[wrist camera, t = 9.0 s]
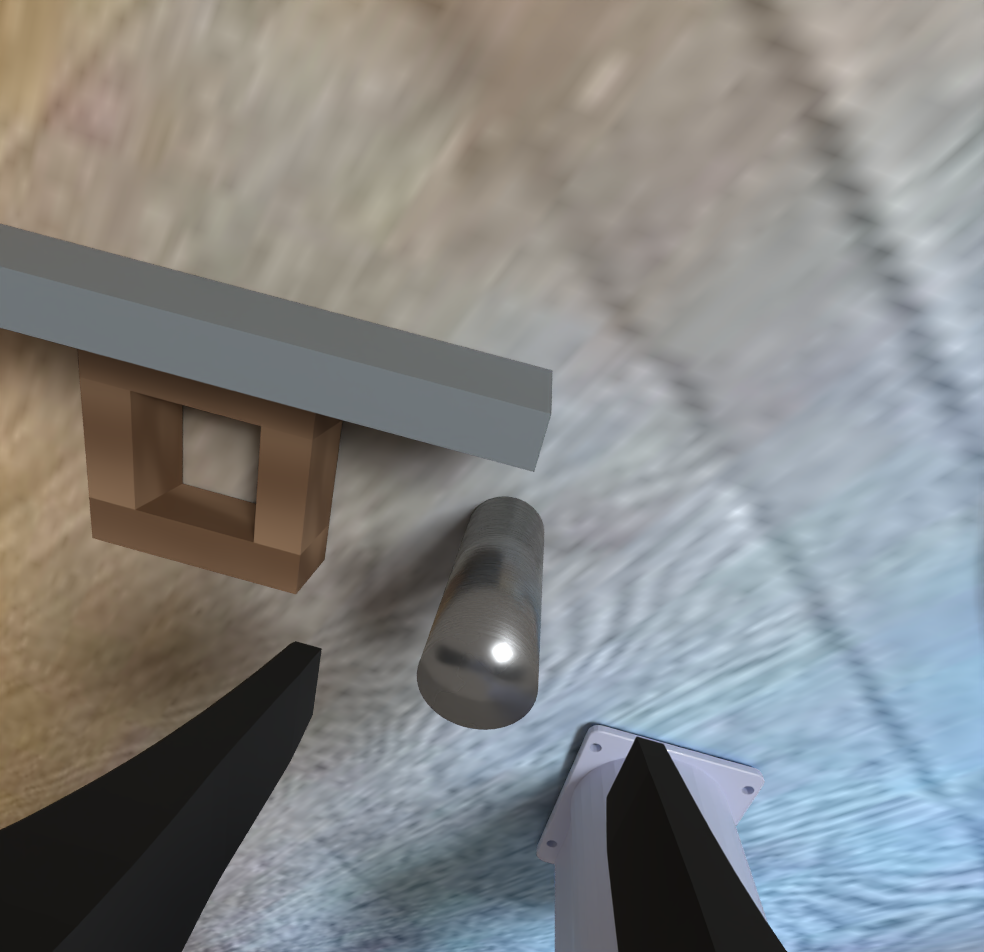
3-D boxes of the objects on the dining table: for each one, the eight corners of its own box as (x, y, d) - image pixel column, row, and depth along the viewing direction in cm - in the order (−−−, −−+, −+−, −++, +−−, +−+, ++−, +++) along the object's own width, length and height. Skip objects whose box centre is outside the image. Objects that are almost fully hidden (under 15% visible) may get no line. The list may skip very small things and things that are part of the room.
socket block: (324, 559, 21) (295, 594, 19) (143, 509, 21) (92, 537, 19) (348, 374, 18) (317, 388, 16) (136, 317, 18) (75, 323, 16)
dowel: (532, 573, 20) (520, 742, 13) (461, 553, 20) (407, 710, 13) (553, 508, 19) (552, 653, 12) (477, 488, 19) (429, 619, 12)
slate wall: (540, 411, 18) (533, 471, 12) (6, 268, 18) (-235, 264, 13) (552, 370, 17) (551, 414, 12) (0, 224, 18) (-256, 198, 12)
